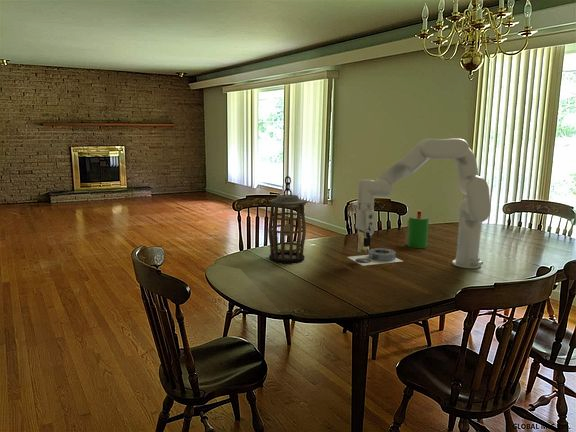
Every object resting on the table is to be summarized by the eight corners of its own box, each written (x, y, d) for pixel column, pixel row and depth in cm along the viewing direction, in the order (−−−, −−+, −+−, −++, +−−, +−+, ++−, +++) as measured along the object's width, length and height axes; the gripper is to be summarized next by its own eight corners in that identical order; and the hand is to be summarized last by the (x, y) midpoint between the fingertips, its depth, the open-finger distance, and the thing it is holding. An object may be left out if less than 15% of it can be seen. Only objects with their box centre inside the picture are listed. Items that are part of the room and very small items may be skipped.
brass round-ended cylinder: (370, 252, 211) (371, 232, 209) (361, 253, 209) (362, 233, 208) (365, 249, 216) (366, 230, 214) (355, 250, 214) (356, 230, 212)
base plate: (403, 263, 214) (403, 260, 214) (362, 267, 206) (362, 264, 206) (385, 255, 228) (385, 252, 228) (346, 258, 220) (346, 256, 220)
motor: (425, 244, 250) (427, 208, 247) (428, 248, 242) (431, 211, 238) (406, 243, 251) (408, 208, 248) (409, 247, 243) (411, 211, 239)
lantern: (314, 257, 222) (316, 175, 214) (294, 267, 205) (295, 179, 198) (280, 251, 231) (281, 173, 224) (258, 260, 215) (258, 176, 208)
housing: (400, 259, 216) (400, 253, 215) (377, 262, 211) (377, 256, 211) (385, 253, 227) (385, 247, 227) (363, 255, 223) (363, 249, 222)
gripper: (382, 209, 202) (380, 248, 206) (363, 203, 218) (361, 240, 221) (368, 209, 200) (366, 250, 203) (349, 203, 215) (347, 241, 218)
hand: (363, 244), depth 212 cm, fingers closed on brass round-ended cylinder, 5 cm apart
